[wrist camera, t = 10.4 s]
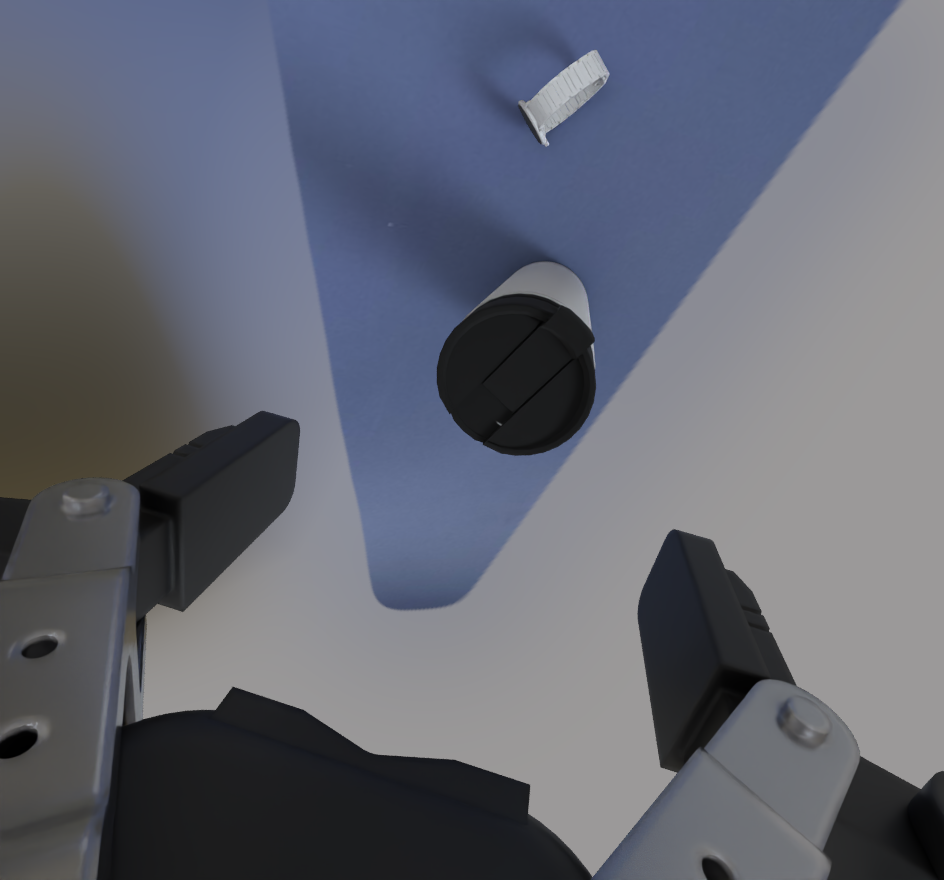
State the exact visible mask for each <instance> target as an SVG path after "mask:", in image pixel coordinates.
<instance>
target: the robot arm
mask: <svg viewBox="0 0 944 880" xmlns="http://www.w3.org/2000/svg"><path fill="white" fill-rule="evenodd" d="M299 436H300V427H299V423H298V422H297V421H296V420H294V419H290V418H287V417H283V416H280V415H276V414H273V413H269V412H265V411H260V412H258V413H256V414H255V415H253V416H252V417H250V418H249V419H247V420H245V421H243V422H242V423H240V424H239V425H237V426H232V425H231V426H227V427H223V428H219V429H215V430H212V431H208V432H206V433H204V434H202V435H201V436H199V437H197V438H195V439H194V440H192V441H190V442H189V444H188V445H186V444H185V445H183V446H181V447H180V448H178V449H176V450H175V451H174V453H173V454H171V453H170V454H168V455H166V456H164V457H162V458H161V459H159V460H157V461H155V462H154V463H152V464H150V465H149V466H147V467H145V468H143V469H142V470H140V471H138V472H137V473H135V474H133V475H131V476H130V477H128V478H126V479H124V480H123V481H121V480H117V479H111V478H81V479H75V480H70V481H66V482H62V483H59V484H56V485H53V486H51V487H49V488H47V489H45V490H43V491H41V492H40V493H39V494H37V495H36V496H35V497H34V498H33V499H32V500H27V499H14V498H2V497H0V880H944V771H941V772H938V773H936V774H935V775H934V776H933V777H932V778H931V779H930V780H929V781H928V782H927V783H926V784H925V786H924V787H923V788H922V789H919V788H917V787H916V786H914V785H912V784H910V783H908V782H906V781H905V780H902V779H901V778H899V777H897V776H895V775H894V774H892V773H890V772H888V771H886V770H884V769H883V768H881V767H879V766H877V765H875V764H873V763H871V762H869V761H868V760H866V759H864V758H863V757H861V756H860V750H859V747H858V744H857V742H856V740H855V738H854V736H853V734H852V733H851V731H850V730H849V728H848V727H847V725H846V724H845V723H844V722H843V721H842V719H841V718H840V717H839V716H838V715H837V714H836V713H835V712H834V711H833V710H832V709H830V708H829V707H828V706H827V705H826V704H825V703H823V702H822V701H821V700H819V699H818V698H816V697H815V696H813V695H812V694H810V693H809V692H807V691H805V690H803V689H801V688H799V687H797V686H796V684H795V682H794V679H793V677H792V675H791V673H790V671H789V669H788V667H787V664H786V662H785V660H784V658H783V656H782V654H781V652H780V650H779V647H778V646H777V643H776V641H775V639H774V637H773V635H772V633H770V632H769V626H768V624H767V622H766V620H765V618H764V616H763V615H761V609H760V607H759V605H758V603H757V601H756V599H755V597H754V594H753V592H752V591H751V590H750V589H749V588H748V587H747V586H746V584H745V583H744V582H743V581H742V580H741V579H740V578H739V577H738V576H737V575H736V574H735V573H734V572H733V571H730V570H726V569H725V568H724V565H723V563H722V561H721V558H720V556H719V554H718V551H717V549H716V547H715V544H714V542H713V541H712V540H710V539H707V538H703V537H700V536H696V535H693V534H689V533H685V532H682V531H679V530H675V529H674V530H672V531H670V532H669V534H668V535H667V537H666V539H665V541H664V543H663V545H662V547H661V550H660V552H659V554H658V556H657V558H656V561H655V563H654V565H653V567H652V569H651V572H650V574H649V576H648V578H647V580H646V583H645V585H644V587H643V590H642V592H641V596H640V600H639V605H638V624H639V630H640V637H641V643H642V649H643V656H644V663H645V669H646V675H647V682H648V688H649V695H650V702H651V708H652V715H653V720H654V728H655V734H656V741H657V747H658V754H659V760H660V766H661V768H665V769H668V770H671V771H674V772H677V774H676V776H675V777H674V778H673V779H672V781H671V782H670V783H669V784H668V786H667V787H666V788H665V789H664V791H663V792H662V793H661V794H660V795H659V797H658V798H657V799H656V800H655V802H654V803H653V804H652V805H651V806H650V808H649V809H648V810H647V811H646V812H645V814H644V815H643V816H642V817H641V819H640V820H639V821H638V823H637V824H636V825H635V826H634V827H633V828H632V830H631V831H630V832H629V833H628V835H627V836H626V837H625V838H624V840H623V841H622V842H621V843H620V844H619V846H618V847H617V848H616V849H615V851H614V852H613V853H612V855H610V857H609V858H608V859H607V860H606V862H605V863H604V864H603V865H602V867H601V868H600V869H599V870H598V871H597V873H596V874H595V875H594V876H593V877H592V876H591V874H590V873H589V872H588V870H587V869H586V867H585V866H584V865H583V864H582V863H581V861H580V860H579V859H578V858H577V856H576V855H575V854H574V853H573V852H572V850H571V849H570V848H569V847H567V846H566V844H564V842H563V841H561V839H560V838H558V836H556V834H554V833H553V832H552V831H551V830H549V829H548V828H547V827H546V826H544V825H543V824H542V823H541V822H540V821H538V820H537V819H535V818H533V817H532V816H531V815H529V814H528V805H529V794H530V785H529V784H526V783H523V782H520V781H517V780H514V779H511V778H508V777H505V776H502V775H499V774H496V773H493V772H489V771H487V770H483V769H481V768H478V767H475V766H472V765H469V764H465V763H462V762H459V761H456V760H449V759H432V758H418V757H403V756H387V755H376V754H372V753H369V752H367V751H365V750H363V749H362V748H360V747H359V746H357V745H356V744H354V743H353V742H351V741H350V740H348V739H346V738H345V737H344V736H342V735H341V734H339V733H338V732H336V731H335V730H333V729H331V728H330V727H328V726H327V725H325V724H324V723H322V722H321V721H319V720H318V719H316V718H315V717H313V716H312V715H310V714H308V713H307V712H306V711H304V710H302V709H299V708H296V707H293V706H290V705H287V704H284V703H281V702H278V701H275V700H271V699H268V698H265V697H263V696H259V695H256V694H253V693H250V692H247V691H244V690H241V689H238V688H235V687H232V689H231V690H230V691H229V693H228V694H227V695H226V697H225V698H224V699H223V701H222V702H221V704H220V705H219V706H218V708H217V709H216V710H193V711H182V712H175V713H168V714H163V715H159V716H155V717H151V718H147V719H143V695H144V674H145V651H146V630H147V624H146V614H147V613H148V612H149V611H150V610H151V609H152V608H153V607H154V606H155V605H156V604H160V605H163V606H166V607H169V608H173V609H176V610H179V611H182V612H183V611H184V610H185V609H186V608H187V607H188V606H189V605H190V604H191V603H192V602H193V601H194V600H195V599H196V598H197V597H198V596H199V595H200V594H201V593H202V592H203V591H204V590H205V589H206V588H207V587H208V586H209V585H210V584H211V583H212V582H213V581H214V580H215V579H216V578H217V577H218V576H219V575H220V574H221V573H222V572H223V571H224V570H225V569H226V568H227V567H228V566H229V565H230V564H231V563H232V562H233V561H234V560H235V559H236V558H237V557H238V556H239V555H240V554H241V553H242V552H243V551H244V550H245V549H246V548H247V547H248V546H249V545H250V544H251V543H252V542H253V541H254V540H255V539H256V538H257V537H258V536H259V535H260V534H261V533H262V532H263V531H264V530H265V529H266V528H267V527H268V526H269V525H270V524H271V523H272V522H273V521H274V520H275V519H276V518H277V517H278V516H279V515H280V514H281V513H282V512H283V511H284V510H285V509H286V507H287V506H288V504H289V502H290V500H291V497H292V495H293V492H294V487H295V479H296V468H297V458H298V448H299Z"/></svg>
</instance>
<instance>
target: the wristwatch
mask: <svg viewBox="0 0 944 880" xmlns="http://www.w3.org/2000/svg"><path fill="white" fill-rule="evenodd" d="M608 77H609V72H608V70H607V68H606V67H605V65H604V63H603V61H602V59H601V57H600V56H599V54H598V52H597V50H593V51H591V52H589V53H588V54H587V55H584V56H583V57H581V58H580V59H579V60H578V61H576V62H574V63H573V64H571V65H570V66H569V67H567V68H566V69H564V70H563V71H562V72H561V73H559V74H558V76H556V77H555V78H553V79H552V80H551V81H550V82H549V83H548V84H547V85H545V86H544V87H543V88H542V89H541V90H540V91H539V92H538V93H537V94H536V95H535V96H534V97H533V99H532V100H529V101H528V102H527V103H526V102H525V101H523V100H520V101H519V105H518V106H519V109H520V111H521V113H522V115H523V117H524V119H525V121H526V123H527V125H528V126H529V128H530V130H531V131H532V133H533V135H534V136H535V138H536V139H537V141H538V142H539V143H540V144H542V145H544V144H545V146H546V147H547V146H548V145H549V142H548V141H547V139H546V133H547V132H549V131H550V130H552V129H553V128H555V127H556V126H558V125H559V124H560V123H562V122H563V121H564V120H566V119H567V118H568V117H569V116H570V115H572V114H573V113H574V112H575V111H577V109H579V108H580V107H581V106H582V105H583V104H585V103H586V101H588V100H589V99H590V98H591V97H592V96H593V95H594V94H595V93H596V92H598V91H599V90H600V89H601V88H602V86H603V85H604V84H605V83H606V81H607V79H608ZM548 85H549V86H548ZM553 86H554V87H553ZM574 96H575V97H574ZM585 99H586V100H585ZM578 103H579V104H578ZM570 104H571V105H570ZM566 106H567V107H566ZM576 107H577V108H576ZM567 108H568V109H567ZM560 110H561V111H560ZM568 110H569V111H568ZM567 115H568V116H567Z"/></svg>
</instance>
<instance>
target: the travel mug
mask: <svg viewBox="0 0 944 880" xmlns="http://www.w3.org/2000/svg"><path fill="white" fill-rule="evenodd" d="M594 341H595V338H594V336H593V333H592V330H591V322H590V314H589V306H588V298H587V294H586V290H585V288H584V286H583V284H582V282H581V280H580V279H579V278H578V277H577V275H576V274H575V273H574V272H572V271H571V270H570V269H569V268H567V267H565V266H563V265H561V264H558V263H554V262H547V261H541V262H534V263H531V264H528V265H526V266H524V267H522V268H521V269H519V270H518V271H516V272H515V273H514V274H513V275H512V276H511V277H510V278H508V279H507V280H506V281H505V282H504V283H503V284H502V285H501V286H499V287H498V288H497V289H496V290H495V291H494V292H493V293H491V294H490V295H489V296H488V297H487V298H486V299H485V300H484V301H482V302H481V303H480V304H479V305H478V306H477V307H476V308H475V309H473V310H472V311H471V312H470V313H469V314H468V315H467V316H466V317H465V319H464V320H463V321H462V322H461V323H460V324H459V325H458V326H457V327H456V328H454V330H453V331H452V333H451V334H450V335H449V337H448V338H447V340H446V341H445V343H444V346H443V348H442V350H441V353H440V356H439V361H438V365H437V385H438V391H439V396H440V398H441V400H442V402H443V403H444V405H445V407H446V409H447V410H448V412H449V414H450V413H451V414H452V417H453V419H454V421H455V422H456V423H457V424H458V426H459V427H460V428H461V429H462V430H463V431H464V432H465V433H467V434H468V435H469V436H471V437H472V438H473V439H474V440H477V441H480V442H483V445H484V446H487V447H489V448H491V449H493V450H495V451H497V452H499V453H502V454H508V455H515V456H517V455H533V454H538V453H543V452H546V451H549V450H551V449H554V448H556V447H558V446H560V445H561V444H563V443H564V442H566V441H567V440H569V439H570V438H571V437H572V436H573V435H574V434H575V433H576V432H577V431H578V430H579V429H580V428H581V427H582V425H583V424H584V422H585V420H586V419H587V417H588V416H589V413H590V410H591V408H592V405H593V403H594V397H595V390H596V380H595V356H594V346H593V343H594Z"/></svg>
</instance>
